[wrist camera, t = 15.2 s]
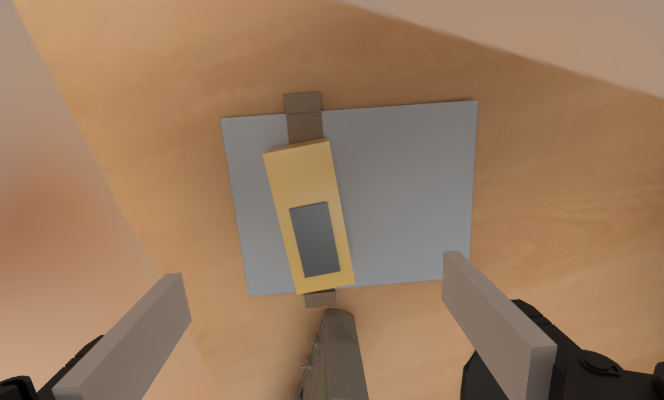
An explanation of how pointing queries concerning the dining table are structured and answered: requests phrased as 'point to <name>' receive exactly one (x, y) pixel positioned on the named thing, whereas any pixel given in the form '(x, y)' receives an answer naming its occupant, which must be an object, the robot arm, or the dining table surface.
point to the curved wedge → (479, 382)
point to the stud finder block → (310, 214)
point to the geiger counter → (334, 362)
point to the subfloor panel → (361, 188)
